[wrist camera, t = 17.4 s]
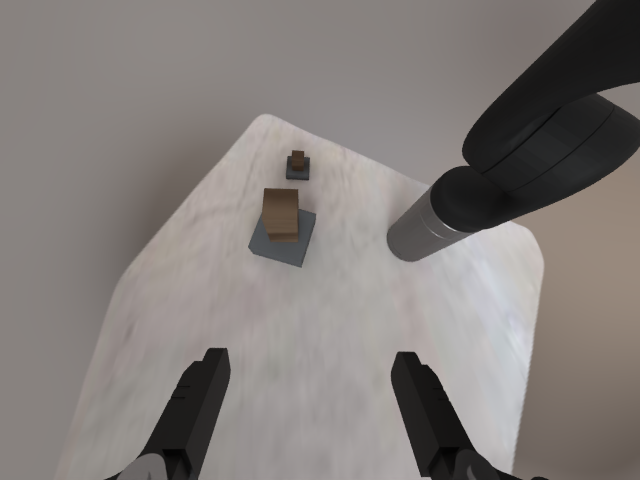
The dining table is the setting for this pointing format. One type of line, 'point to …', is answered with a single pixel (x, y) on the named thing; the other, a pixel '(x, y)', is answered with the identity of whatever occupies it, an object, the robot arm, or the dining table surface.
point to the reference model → (298, 166)
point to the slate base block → (284, 250)
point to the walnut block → (281, 214)
